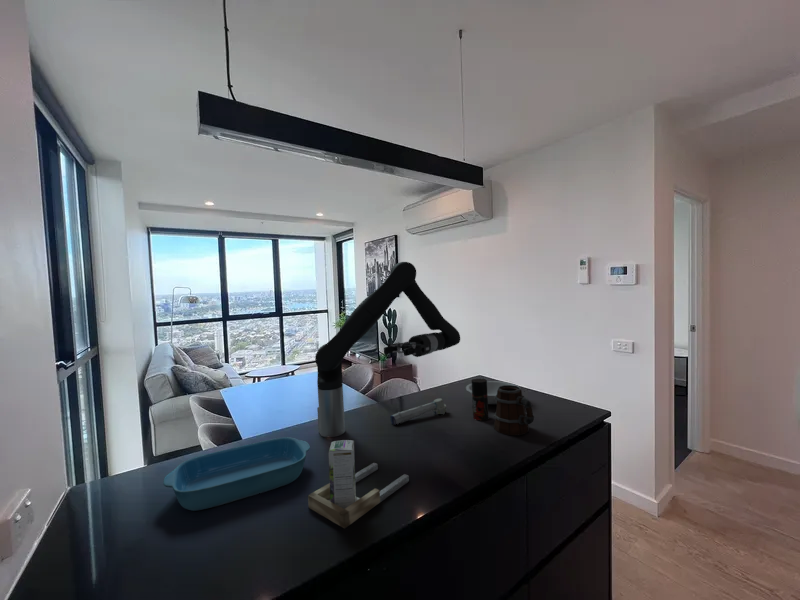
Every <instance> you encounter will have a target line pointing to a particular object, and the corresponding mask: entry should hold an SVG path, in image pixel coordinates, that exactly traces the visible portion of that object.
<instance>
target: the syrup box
mask: <svg viewBox="0 0 800 600" xmlns="http://www.w3.org/2000/svg"><path fill="white" fill-rule="evenodd" d="M355 459H356V458H355V440H351V439H350V440H349V439H342V440H340V439H339V440H334V441H331V442H330V447H329V450H328V473H329V474H328V476H329V483H330V502H332V503H334V504H336V505H338V506H340V507H342V508H343V509H345V508H347V507H348V506H350V505H351V504H353V503H354V502H355V499H356V497H357V493H356V489H357V488H356V484H357V483H355V474H356V465H355V464H356V462H355Z"/></svg>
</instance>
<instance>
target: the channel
mask: <svg viewBox="0 0 800 600" xmlns="http://www.w3.org/2000/svg"><path fill="white" fill-rule="evenodd" d="M378 466H379V463H376V462H373V463H370V464H369V465H368V466H366V467H363V469H361V470H359V471H357V472H355V484H357V483H358V482H360V481H362V480H363V479H364V478H366V477H367V476H369V475H371V474H372V473H374V472H376V471H377V470H378V469H379V467H378ZM408 482H410V476H409V475H408V474H405V473H404V474H403V475H401V476H400V477H398V478H397V479H395V480H393V481H392V482H391V483H390V484H388V485H386V486H385V487H384V488H382V489H381V490H380V503H381V502H383V501H384V500H386V499H387V498H388V497H389V496H391V495H392V494H393V493H395V492H396V491H398V490H400V489H401V488H402V487H403V486H404V485H406V484H407V483H408Z"/></svg>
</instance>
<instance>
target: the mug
mask: <svg viewBox="0 0 800 600" xmlns="http://www.w3.org/2000/svg"><path fill="white" fill-rule="evenodd" d="M520 388H521V386H519V387H517V386H513V385H503V386H500V387H499V388H498V390H497V394H496V396H495V400H497V404H496V409H495V410H496V411H495V413H494V414H493V418H494V419H495V421H494V423H493V428H494V430H496V431H497V432H498V433H499V434H503V435H507V436H521V435H525V434H527V433H529V425H531V424H532V423H533V422H534V420H535V415H534V414H533V405H532V402H531V401H530V400H529V399H528V398H526V397H525V395H523V392H522V389H520Z"/></svg>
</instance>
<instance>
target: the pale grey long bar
mask: <svg viewBox="0 0 800 600" xmlns="http://www.w3.org/2000/svg"><path fill="white" fill-rule="evenodd" d="M432 411H433V414H434V413H435V414H443V415H445V412H446V413H447V404H445V403H444V400H443V399H442V398H439V397H438V398H435V399H434V400H433V401H431V402H429V403H426V404H421V405H419V406H414V407H411V408H410V409H406V410H403V411H397V412H396V413H394V414H391V415H390V418H389V420H390V423H391V424H392V425H393V424H394V425H393V426H396V424H397V425H400V424H403V423H405V422H407V421H410V420H412V419H414V418H417V417H419V416H422V415H424V414H427V413H430V412H432ZM435 414H434V415H435ZM399 423H400V424H399Z"/></svg>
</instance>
